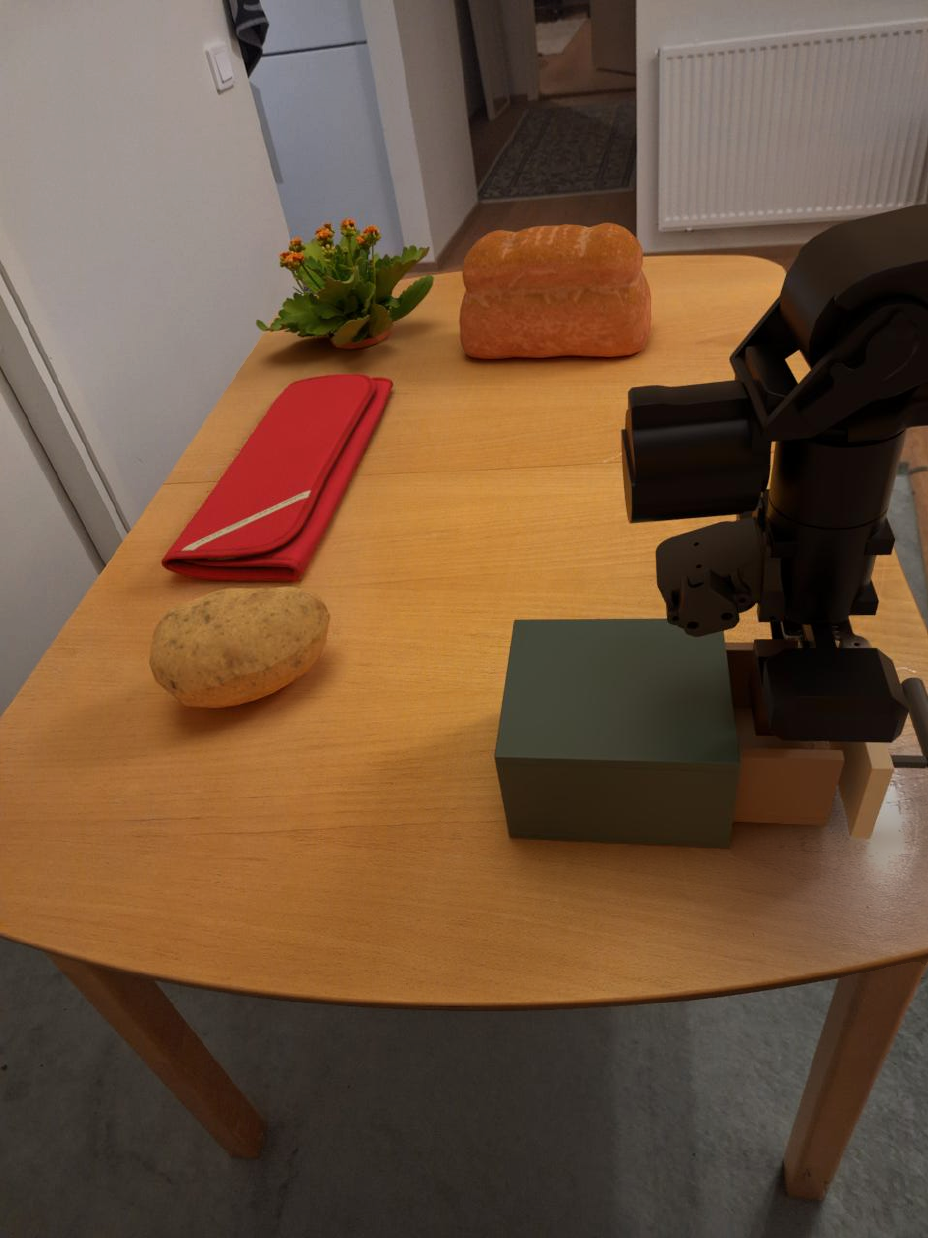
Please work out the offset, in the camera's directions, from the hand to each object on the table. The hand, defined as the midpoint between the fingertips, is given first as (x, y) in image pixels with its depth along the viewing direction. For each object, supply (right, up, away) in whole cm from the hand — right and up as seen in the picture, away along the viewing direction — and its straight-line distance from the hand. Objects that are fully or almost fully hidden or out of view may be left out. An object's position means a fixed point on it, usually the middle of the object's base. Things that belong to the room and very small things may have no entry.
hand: (790, 699), depth 52 cm
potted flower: (-36, +49, +74) cm, 96 cm away
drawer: (+1, -5, +4) cm, 7 cm away
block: (0, -1, +1) cm, 1 cm away
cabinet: (-10, -6, +7) cm, 13 cm away
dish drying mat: (-41, +23, +46) cm, 65 cm away
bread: (-8, +44, +63) cm, 77 cm away
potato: (-39, -1, +19) cm, 44 cm away
